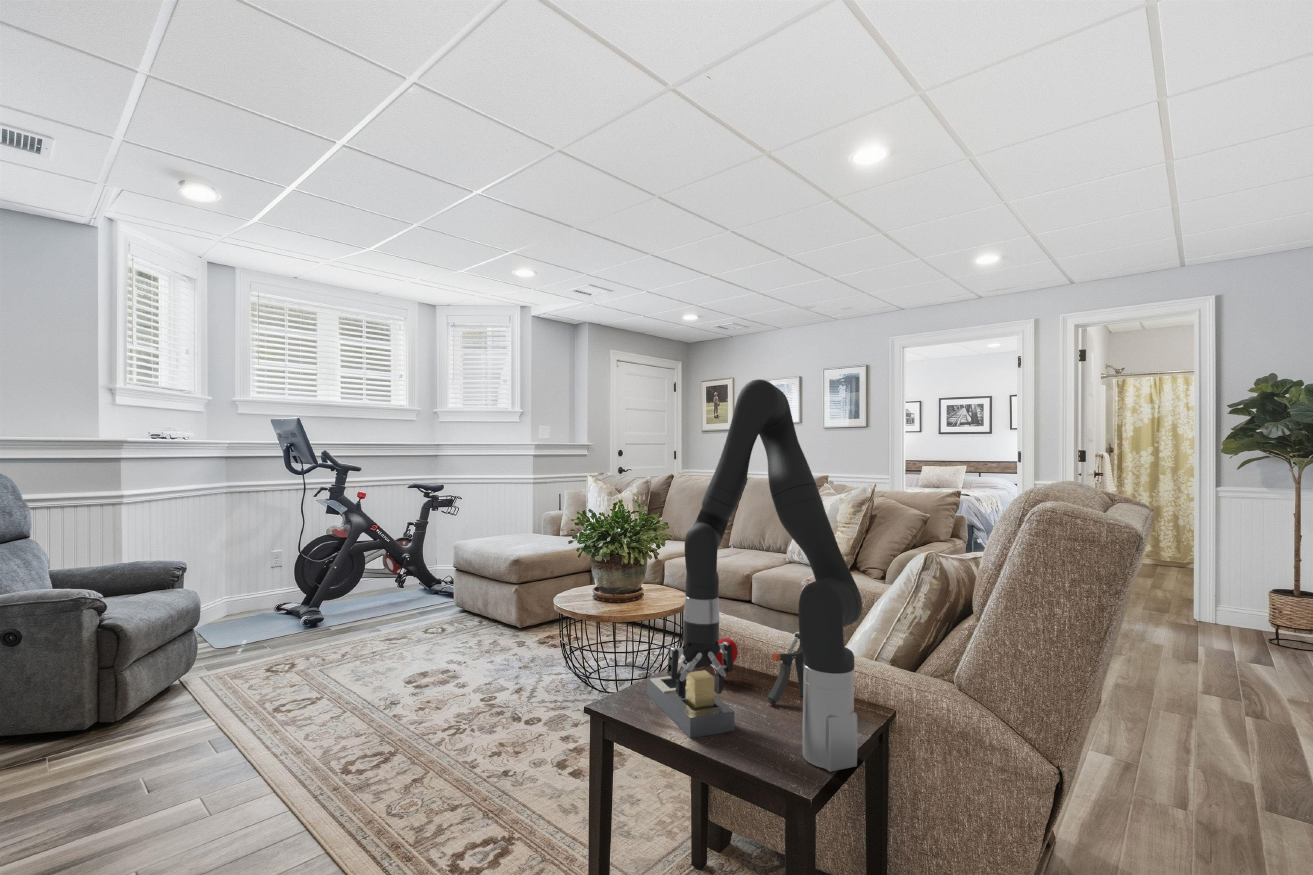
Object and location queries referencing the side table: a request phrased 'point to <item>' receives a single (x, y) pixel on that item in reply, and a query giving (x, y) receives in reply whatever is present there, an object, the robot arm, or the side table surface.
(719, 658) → the red two-lobed part
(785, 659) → the hand grip strengthener
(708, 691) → the brass block
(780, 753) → the side table surface
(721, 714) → the grey peg holder block
